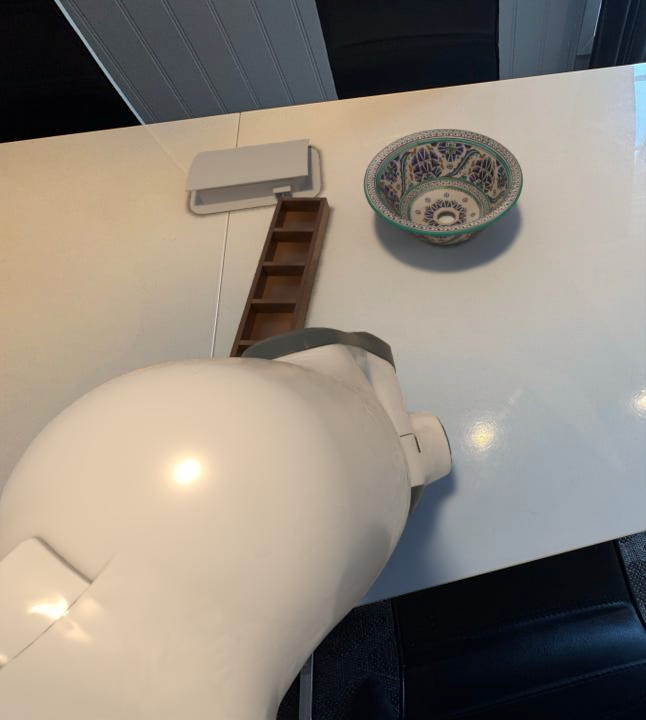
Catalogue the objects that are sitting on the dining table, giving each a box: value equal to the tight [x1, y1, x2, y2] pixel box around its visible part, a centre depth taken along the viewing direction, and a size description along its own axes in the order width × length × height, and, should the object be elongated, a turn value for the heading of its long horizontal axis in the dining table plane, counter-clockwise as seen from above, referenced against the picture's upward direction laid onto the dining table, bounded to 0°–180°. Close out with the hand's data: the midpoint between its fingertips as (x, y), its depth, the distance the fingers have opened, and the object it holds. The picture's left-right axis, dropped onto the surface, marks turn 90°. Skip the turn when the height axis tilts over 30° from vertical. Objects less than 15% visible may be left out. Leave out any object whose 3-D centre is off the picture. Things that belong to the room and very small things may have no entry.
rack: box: [228, 196, 331, 358], centre depth 78 cm, size 8×38×3 cm, turn 0°
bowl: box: [363, 128, 524, 246], centre depth 83 cm, size 25×25×10 cm
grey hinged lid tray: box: [184, 138, 322, 215], centre depth 92 cm, size 15×23×4 cm, turn 102°
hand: (169, 529), depth 52 cm, fingers open, 8 cm apart
